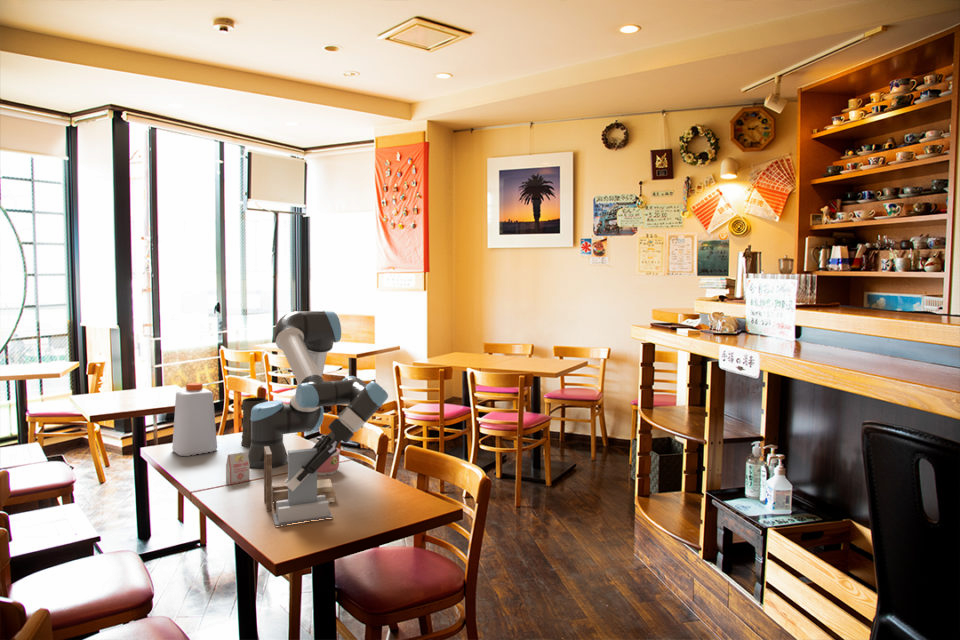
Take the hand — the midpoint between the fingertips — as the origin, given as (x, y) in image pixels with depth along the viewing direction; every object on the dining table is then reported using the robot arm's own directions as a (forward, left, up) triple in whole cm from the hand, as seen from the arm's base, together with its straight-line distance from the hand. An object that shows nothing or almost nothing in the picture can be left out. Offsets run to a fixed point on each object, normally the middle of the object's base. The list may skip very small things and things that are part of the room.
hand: (288, 486), depth 169 cm
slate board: (-3, +2, -8) cm, 9 cm away
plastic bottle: (-29, -89, -10) cm, 94 cm away
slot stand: (-3, +2, -10) cm, 11 cm away
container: (-38, -24, -10) cm, 46 cm away
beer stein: (-49, -76, -10) cm, 91 cm away
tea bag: (-14, -42, -10) cm, 45 cm away
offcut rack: (-12, -9, -10) cm, 18 cm away
